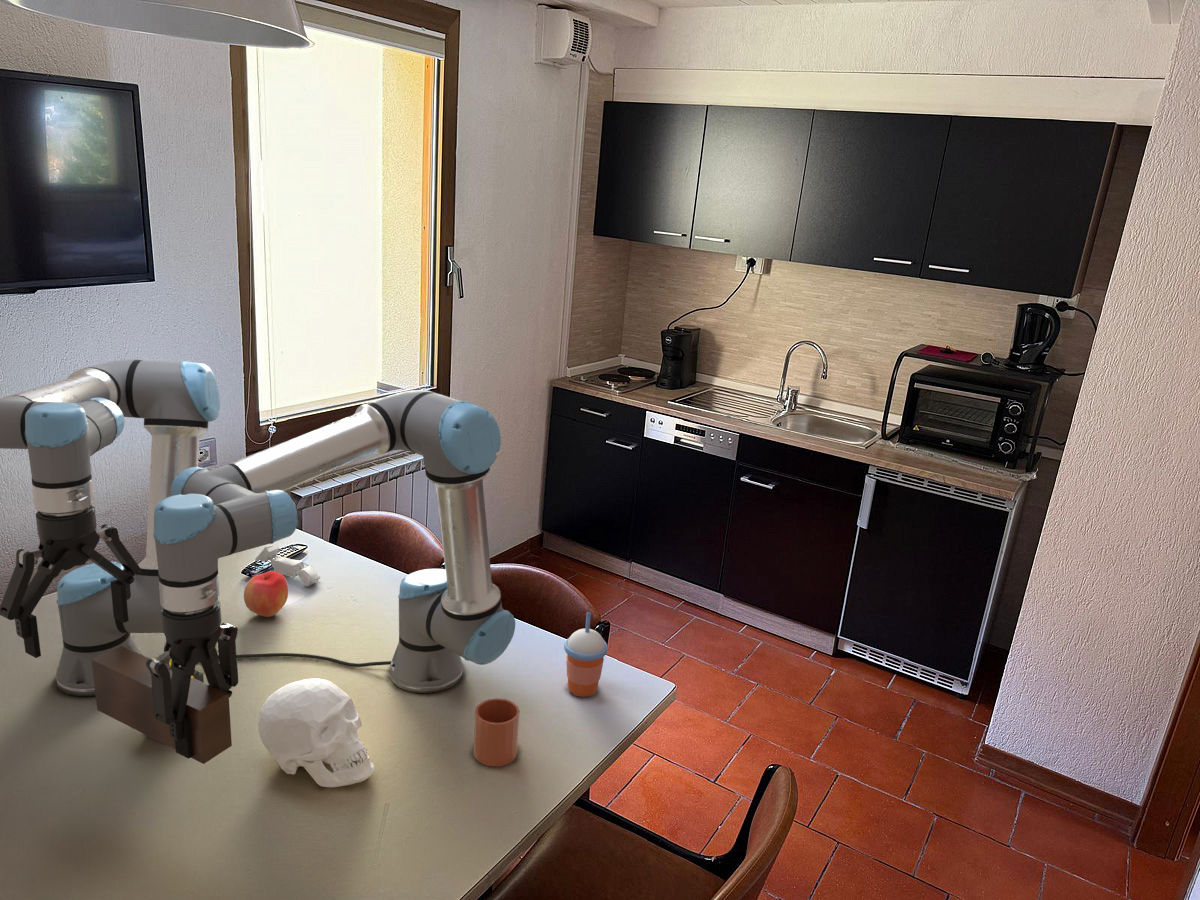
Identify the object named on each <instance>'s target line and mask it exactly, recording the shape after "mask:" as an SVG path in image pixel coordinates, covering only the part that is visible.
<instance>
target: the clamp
mask: <svg viewBox="0 0 1200 900" xmlns="http://www.w3.org/2000/svg"><path fill="white" fill-rule="evenodd" d="M280 549H281V547H279V546H278V545H277V544H270V545H266V546H264V547H263V549H262V550H261V551H260V552H259V554H258V555H257V556H256V557H255V559H254V562H255V563H256V561H259V560H262V561H268V560H271V562H270V563H269V564H271V565H272V566H273V568H274V571H275V572H278V573H281V574H282V575H283V576H288V577H292V578H296V577H298V578H299V579H300V580H301V582H303V584H304V585H305V587H309V586H312V585H314V584H316V583H318V582H319V580H320V579H321V578H322V577H321V575H320V574H319V573H318V572H317V570H315V569H314V568H313V566H312V565H310V564H309V565H308V564H307V563H305V562H304V561H303V560H301V559H300V560H299V559H292V558H289V557H285V556H278V553H279V551H280ZM273 558H274V559H273ZM272 559H273V560H272ZM305 566H306V567H305ZM270 571H271V570H270Z"/></svg>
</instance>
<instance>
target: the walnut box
mask: <svg viewBox="0 0 1200 900" xmlns="http://www.w3.org/2000/svg"><path fill="white" fill-rule="evenodd" d="M149 659H150V657H148V656H145V655H143V654H142V653H141V654H139V653H137V652H134V651H132V650H130V649H128V648H125V647H123V646H120V647H118V648H116V649H113V650H111V651H109V652H107V653H105V654H103V655H100V656H98V657H96V658H94V659H92V660H91V661H92V670H93V679H94V687H95V696H94V697H95V704H96V710H97V711H98V712H100V713H102V714H104V715H106V716H107V717H110V718H112V719H114V720H116V721H118V722H120V723H122V724H124V725H126V726H127V727H130V728H131V729H133V730H136V731H138V732H139V733H141V734H143V735H145V736H147V737H149V738H151V739H153V740H155V741H157V742H159V743H161V744H163V745H165V746H167V747H169V748H171V749H173V750H175V751H176V747H175V739H173V738H171V736H170V729H169V725H167V724H165V723H163V722H161V721H159V720H157V719H155V718H154V707H153V694H152V681H151V673H150V671H149V669H148V668H147V666H146V662H147V661H148V660H149ZM169 673H170V677H171V679H172V670H171V669H170V670H169ZM185 716H187V717H189V718H190V723H191V736H192V749H193V756H192V757H191V758H190V759H192V760H195V761H197V762H199V763H201V764H203V765H205V764H206V763H208V762H209V761H211V760H212V759H214V758H216V757H217V756H219V755H220V754H222V753H223V752H225V751H226V750H228V749H230V748H231V747H232V746H233V742H232V725H231V711H230V697H229V694H228V693H225V692H223V691H221V690H219V689H216V688H214V687H212V686H210V685H209V683H205V682H204V683H203V682H201V681H199V680H196V679H194V678H192V677H191V681H190V687H189V694H188V700H187V706H186V712H185Z"/></svg>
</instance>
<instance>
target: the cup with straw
mask: <svg viewBox="0 0 1200 900" xmlns="http://www.w3.org/2000/svg"><path fill="white" fill-rule="evenodd" d="M591 616H592V613H591V611H587V612H586V617H585V628H580V629H577V630H575V631H574V632H573V633H572V634H571V635H570V636H569V637H568V638H567V639H566V640H565V641H564V645H563V650H564V652H565V653H566V655H565V656H566V660H565V661H566V678H567V690H568V691H569V692H570V693H571V694H572V695H573V696H576V697H582V698H586V697H591V696H594V695H595V694H596V693H597V691H598V687H599V681H600V680H601V676H602V671H603V666H604V661H605V658H604V657H605V656H606V655H607V654H608V651H609V649H608V644H607V642H606V640H604V637H602V635H601V634H600V633H599V632H598V631H596V630H595V629H592V628H591V618H592V617H591Z"/></svg>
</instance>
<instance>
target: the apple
mask: <svg viewBox="0 0 1200 900" xmlns="http://www.w3.org/2000/svg"><path fill="white" fill-rule="evenodd" d="M288 597H289V584H288V581H287V579H286V577H285V575H282V574H281V573H278V572H275V571H268V570H267V571H266V572H264V573H259V574H255V575H254V576H253V577H251V578H250V579H249V580H248V582H247V583H246V585H245V587H244V590H243V601H244V604H245V607H247V609H248V610H249V611H250V612H252V613H253V614H255V615H257V616H261V617H265V618H269V617H273V616H275V615H276V614H278V613H279V612H280V611H281V610H282V609H283V607H284V606H285V605H286V603H287V600H288Z"/></svg>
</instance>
